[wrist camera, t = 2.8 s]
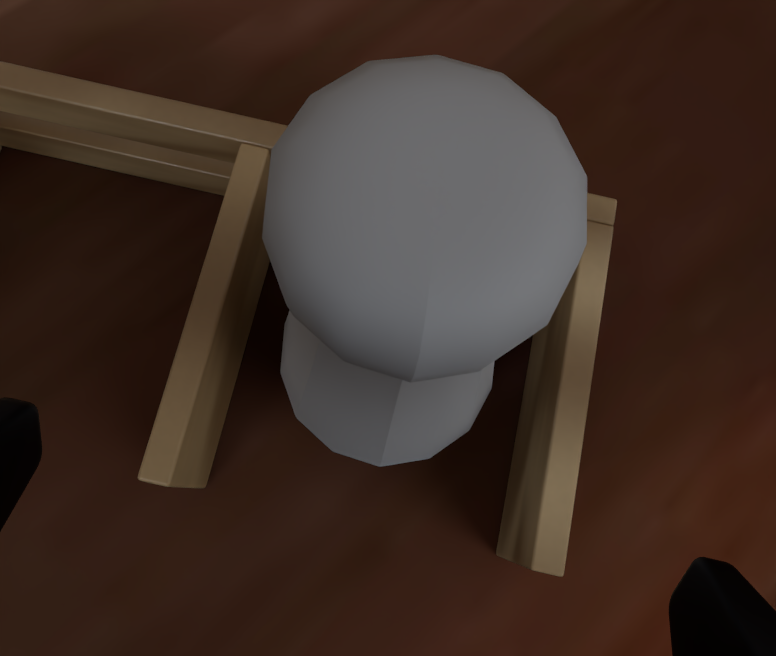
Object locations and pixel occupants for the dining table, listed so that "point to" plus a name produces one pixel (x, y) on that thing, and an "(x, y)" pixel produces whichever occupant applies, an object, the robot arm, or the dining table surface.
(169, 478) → the rack
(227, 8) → the dining table surface
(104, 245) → the dining table surface
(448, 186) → the salt shaker
